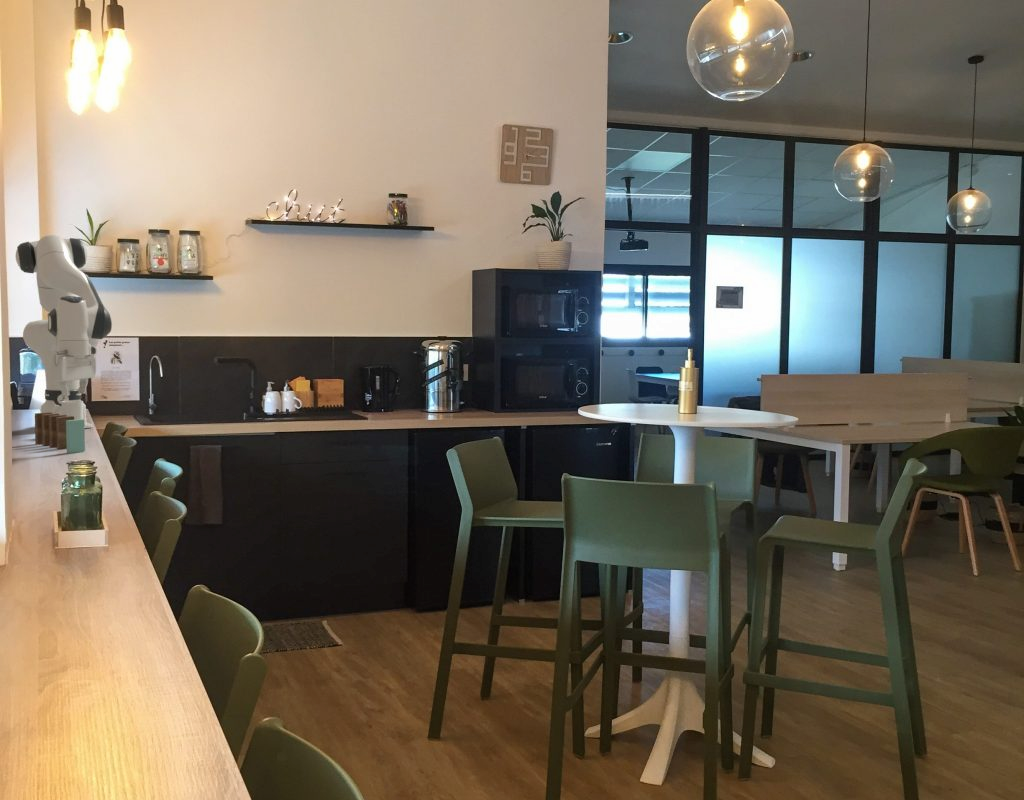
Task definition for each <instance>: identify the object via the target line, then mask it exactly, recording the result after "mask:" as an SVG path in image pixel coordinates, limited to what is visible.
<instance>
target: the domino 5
mask: <svg viewBox="0 0 1024 800" xmlns="http://www.w3.org/2000/svg"><path fill="white" fill-rule="evenodd" d="M85 436H86V435H85V428H84V420H83V419H78V420H66V438H67V449H66V453H67V454H75V453H84V452H83V451H85V452H86V444H85V443H86V442H85V439H86V437H85Z"/></svg>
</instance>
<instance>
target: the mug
mask: <svg viewBox="0 0 1024 800" xmlns="http://www.w3.org/2000/svg"><path fill="white" fill-rule="evenodd" d="M83 403H84V400H81V401H80V400H68V401H62V406H59V405H55V406H54V409H53V411H52V414H55V412H56V411H57V410H58V409H61V410H62V415H67V416H74V420H78V419H83Z"/></svg>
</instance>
